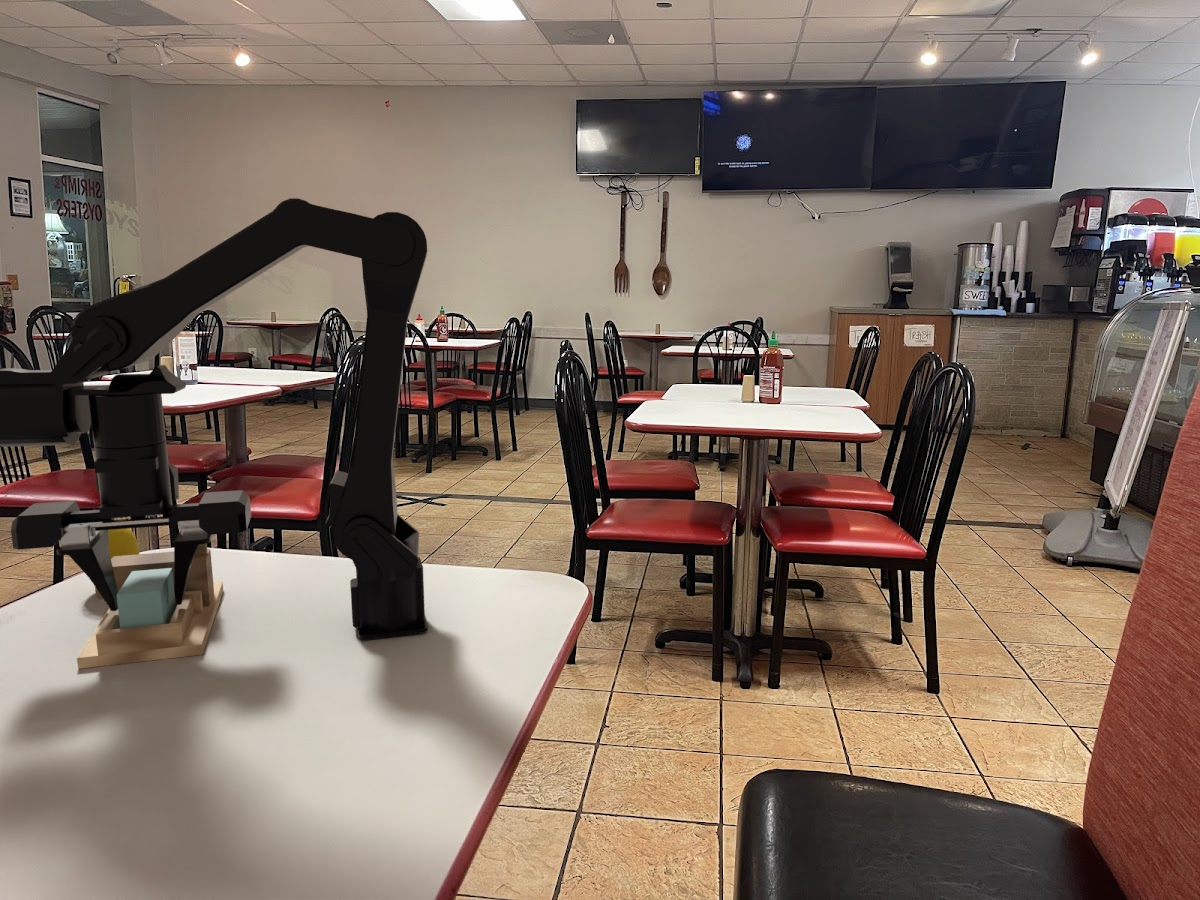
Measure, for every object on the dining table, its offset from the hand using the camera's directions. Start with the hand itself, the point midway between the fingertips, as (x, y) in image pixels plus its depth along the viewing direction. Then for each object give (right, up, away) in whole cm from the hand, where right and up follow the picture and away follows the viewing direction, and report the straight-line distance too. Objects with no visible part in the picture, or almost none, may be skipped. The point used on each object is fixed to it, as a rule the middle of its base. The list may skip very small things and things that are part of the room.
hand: (147, 606), depth 80 cm
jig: (-1, -3, +4) cm, 5 cm away
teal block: (0, -2, +1) cm, 3 cm away
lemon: (-11, -1, +14) cm, 18 cm away
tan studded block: (-2, -1, +7) cm, 7 cm away
